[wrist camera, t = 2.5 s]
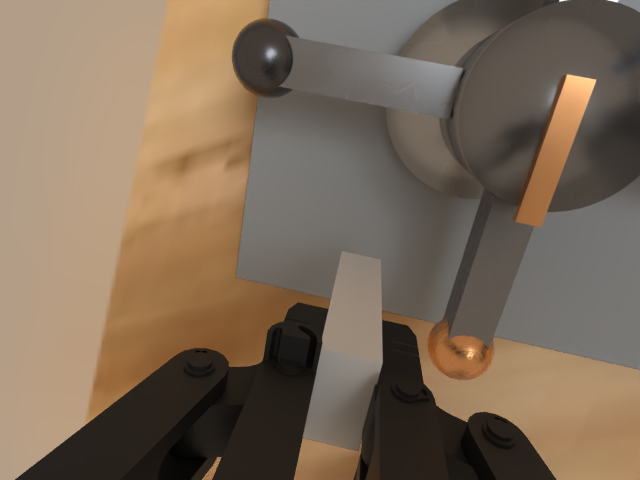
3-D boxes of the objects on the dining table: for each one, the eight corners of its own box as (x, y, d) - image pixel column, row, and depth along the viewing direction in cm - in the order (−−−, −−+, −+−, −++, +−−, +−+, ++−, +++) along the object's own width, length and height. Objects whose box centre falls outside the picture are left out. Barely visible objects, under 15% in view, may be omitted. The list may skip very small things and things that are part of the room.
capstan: (949, -171, 14) (1388, -378, 8) (655, 372, 21) (764, 484, 15) (304, -256, 16) (252, -484, 9) (237, 277, 23) (185, 343, 17)
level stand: (931, -94, 16) (1095, -150, 12) (676, 364, 23) (731, 416, 19) (302, -185, 18) (281, -258, 14) (244, 267, 25) (219, 296, 21)
